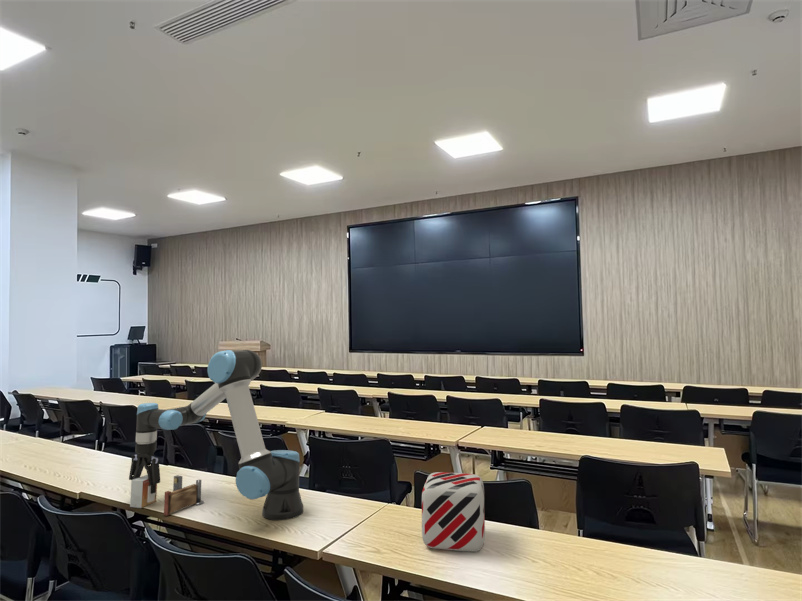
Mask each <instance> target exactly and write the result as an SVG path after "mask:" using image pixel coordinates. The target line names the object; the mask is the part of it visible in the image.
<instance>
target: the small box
mask: <svg viewBox="0 0 802 601" xmlns="http://www.w3.org/2000/svg"><path fill="white" fill-rule="evenodd" d="M130 481H131V482H130V498H129V500H130V501H129V507H130V508H137V509H142V508H145V507H146V506H149V505H151V504H154V503H156V502H157V494H158V483H157V484H156V492H155V501H152V502H149V503H148V502H147V497H148V485H149V484H150V483H149V479H148V475H147V474H145V475H142V476H140V477H139V478H137V479H133V480H130ZM152 482H153V481H152Z"/></svg>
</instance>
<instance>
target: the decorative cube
mask: <svg viewBox="0 0 802 601" xmlns="http://www.w3.org/2000/svg"><path fill="white" fill-rule="evenodd" d="M484 485H485V484H484V482H483V479H482V477H481V476H479V475H477V474H473V473H467V472H466V473H462V472H461V473H460V472H445V471H440V472H439V471H438V472H432V473H430V474H428V476H427V479H426V481H425V482H424V486H423V488H422V491H421V536H422V541H423V543H424V544H425V546H427V547H428V548H431V549H435V550H446V551H460V552H477V551H480V550H481V549H482V548H483V546H484V544H485V537H486V536H485V535H486V527H485V525H486V524H485V522H486V521H485V520H486V518H485V516H486V515H485V511H486V510H485V486H484Z"/></svg>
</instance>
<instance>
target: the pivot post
mask: <svg viewBox="0 0 802 601" xmlns="http://www.w3.org/2000/svg"><path fill="white" fill-rule="evenodd" d="M195 484H197V496H196V503H195V504H193V505H192V506H200V505H203V504H205V500H203V499H202V479H197V480H195Z"/></svg>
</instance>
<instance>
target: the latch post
mask: <svg viewBox="0 0 802 601" xmlns="http://www.w3.org/2000/svg"><path fill="white" fill-rule="evenodd" d="M172 487H173V488H172V491H175V490H178V489H181V488H183V475H179V474H177V475H173V486H172Z"/></svg>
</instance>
